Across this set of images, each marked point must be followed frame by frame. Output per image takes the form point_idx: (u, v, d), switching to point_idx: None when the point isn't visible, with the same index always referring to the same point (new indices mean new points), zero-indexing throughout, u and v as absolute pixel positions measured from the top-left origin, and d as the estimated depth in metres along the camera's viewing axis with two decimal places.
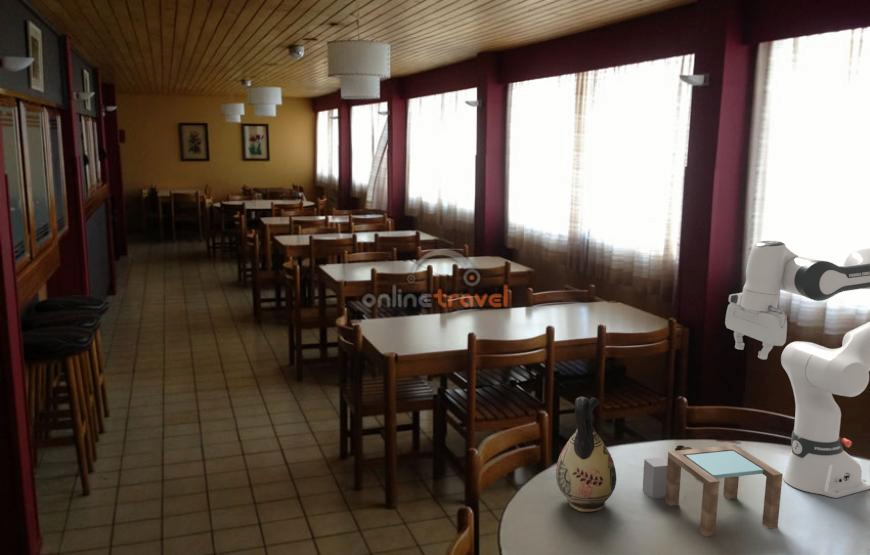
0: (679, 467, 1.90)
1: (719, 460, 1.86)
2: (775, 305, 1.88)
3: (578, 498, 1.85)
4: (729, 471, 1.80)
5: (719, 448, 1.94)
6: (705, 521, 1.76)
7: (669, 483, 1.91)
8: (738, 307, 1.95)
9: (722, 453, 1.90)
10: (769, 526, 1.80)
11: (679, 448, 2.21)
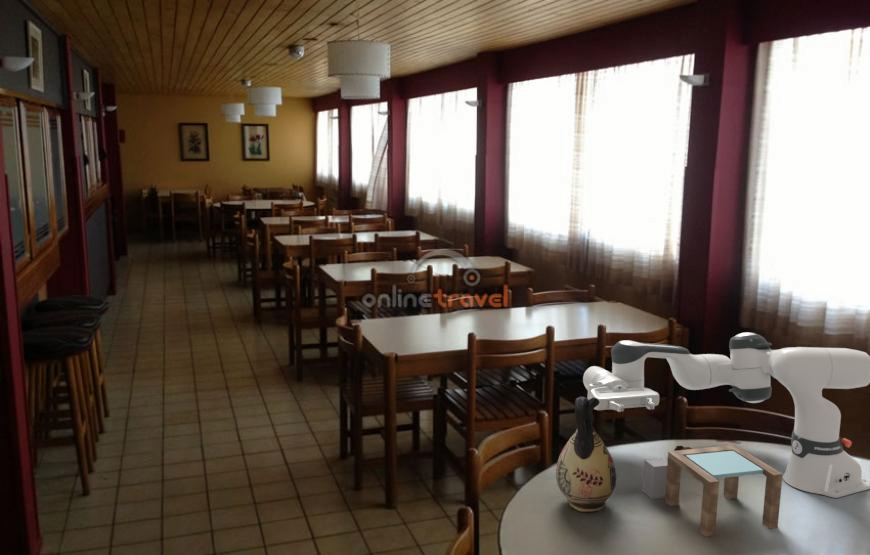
0: (679, 467, 1.90)
1: (719, 460, 1.86)
2: None
3: (578, 498, 1.85)
4: (729, 471, 1.80)
5: (719, 448, 1.94)
6: (705, 521, 1.76)
7: (669, 483, 1.91)
8: (605, 386, 2.16)
9: (722, 453, 1.90)
10: (769, 526, 1.80)
11: (679, 448, 2.21)
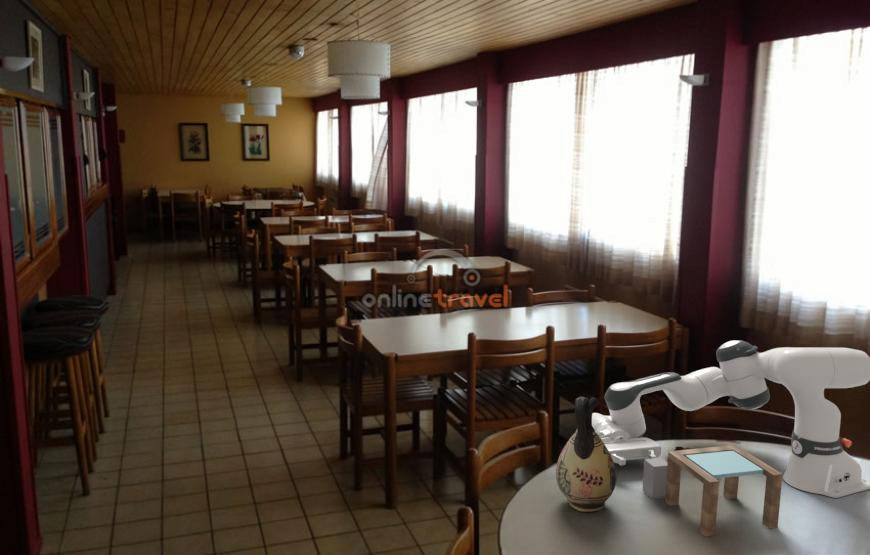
0: (679, 467, 1.90)
1: (719, 460, 1.86)
2: None
3: (578, 498, 1.85)
4: (729, 471, 1.80)
5: (719, 448, 1.94)
6: (705, 521, 1.76)
7: (669, 483, 1.91)
8: (607, 437, 2.15)
9: (722, 453, 1.90)
10: (769, 526, 1.80)
11: (678, 449, 2.20)
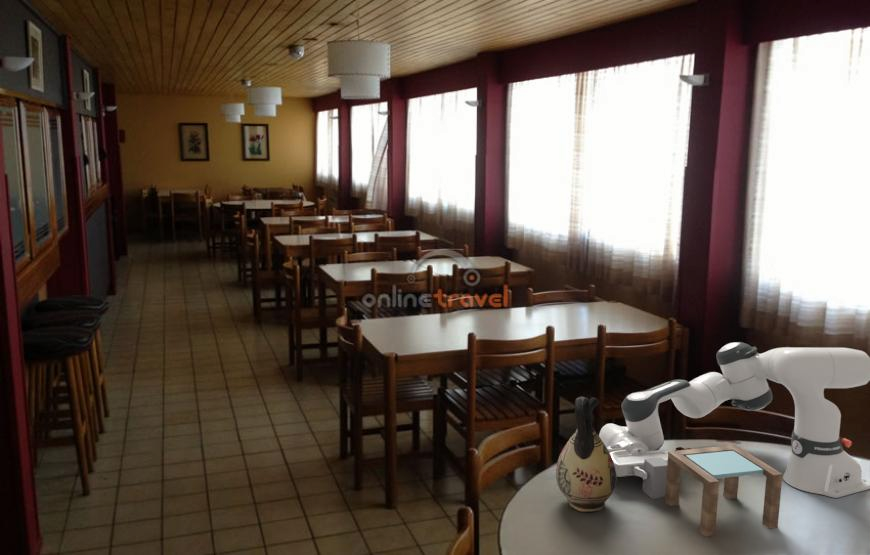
0: (679, 467, 1.90)
1: (719, 460, 1.86)
2: None
3: (578, 498, 1.85)
4: (729, 471, 1.80)
5: (719, 448, 1.94)
6: (705, 521, 1.76)
7: (669, 483, 1.91)
8: (624, 450, 2.06)
9: (722, 453, 1.90)
10: (769, 526, 1.80)
11: None
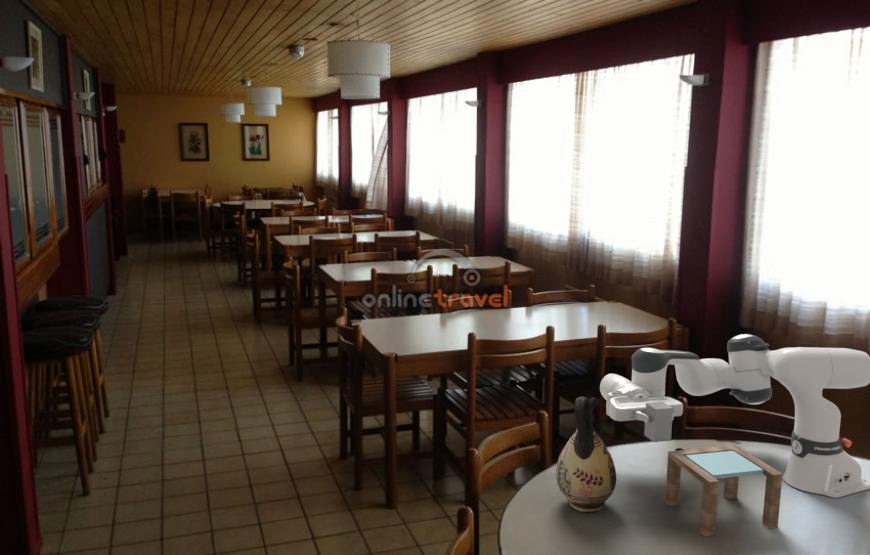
0: (679, 467, 1.90)
1: (719, 460, 1.86)
2: None
3: (578, 498, 1.85)
4: (729, 471, 1.80)
5: (719, 448, 1.94)
6: (705, 521, 1.76)
7: (669, 483, 1.91)
8: (625, 395, 2.03)
9: (722, 453, 1.90)
10: (769, 526, 1.80)
11: None
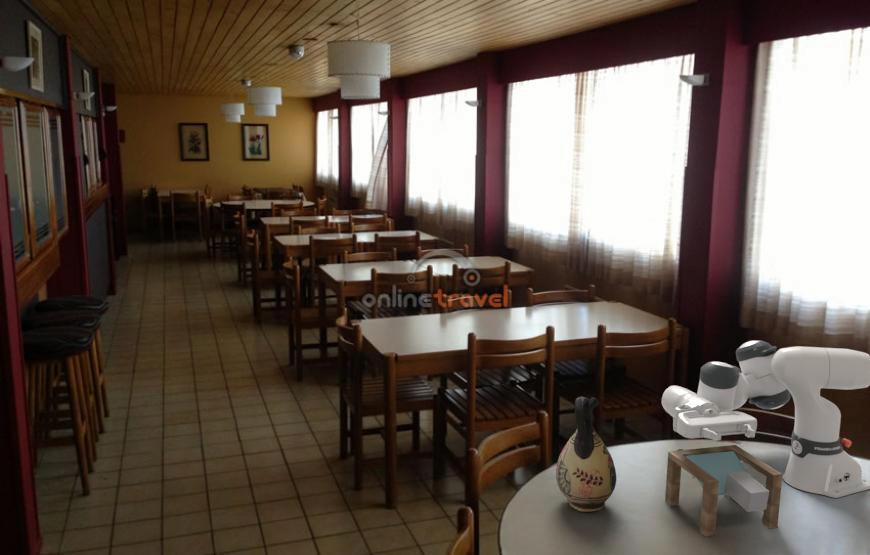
0: (679, 467, 1.90)
1: (717, 468, 1.87)
2: None
3: (578, 498, 1.85)
4: None
5: (719, 448, 1.94)
6: (705, 521, 1.76)
7: (669, 483, 1.91)
8: (694, 410, 1.89)
9: (722, 455, 1.90)
10: (769, 526, 1.80)
11: None
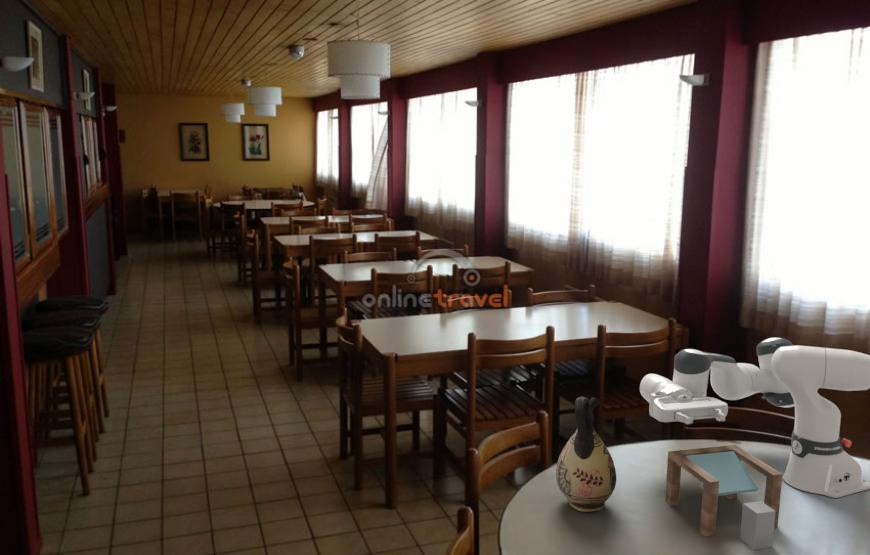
0: (679, 467, 1.90)
1: (717, 468, 1.87)
2: None
3: (578, 498, 1.85)
4: (725, 488, 1.81)
5: (719, 448, 1.94)
6: (705, 521, 1.76)
7: (669, 483, 1.91)
8: (669, 396, 2.00)
9: (722, 455, 1.90)
10: None
11: None
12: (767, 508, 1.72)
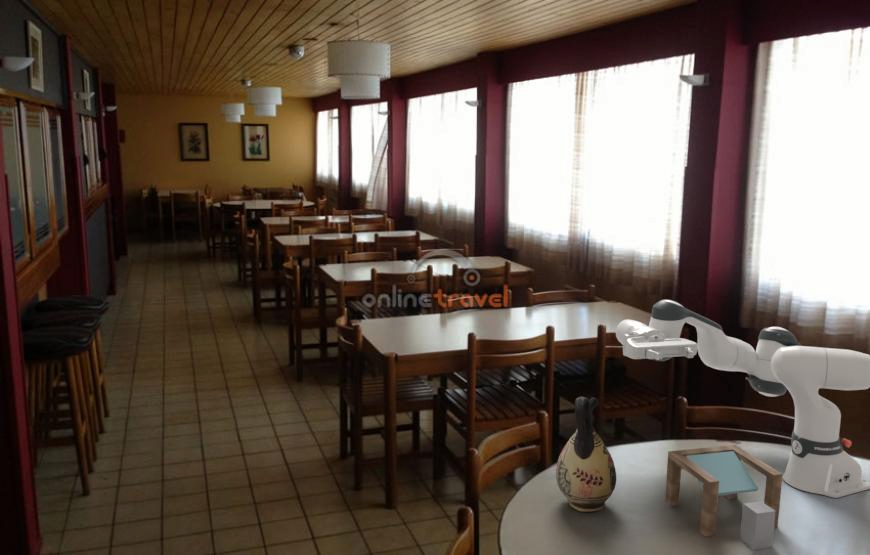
0: (679, 467, 1.90)
1: (717, 468, 1.87)
2: None
3: (578, 498, 1.85)
4: (725, 488, 1.81)
5: (719, 448, 1.94)
6: (705, 521, 1.76)
7: (669, 483, 1.91)
8: (641, 336, 2.10)
9: (722, 455, 1.90)
10: None
11: None
12: (767, 508, 1.72)
